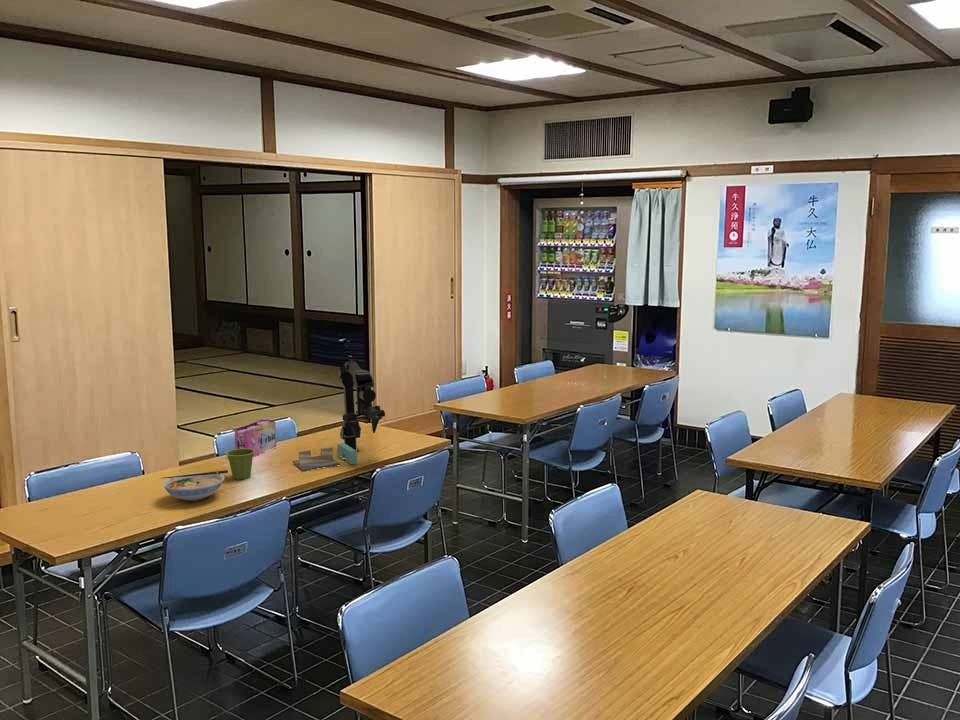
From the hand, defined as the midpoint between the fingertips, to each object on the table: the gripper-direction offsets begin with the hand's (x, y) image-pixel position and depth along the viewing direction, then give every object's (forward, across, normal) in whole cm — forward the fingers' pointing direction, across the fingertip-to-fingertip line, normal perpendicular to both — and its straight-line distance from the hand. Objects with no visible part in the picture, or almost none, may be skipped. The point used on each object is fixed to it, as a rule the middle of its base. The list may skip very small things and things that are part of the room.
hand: (365, 434), depth 358 cm
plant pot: (+13, -51, +16) cm, 55 cm away
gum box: (+12, -30, +53) cm, 61 cm away
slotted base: (+13, -18, +14) cm, 26 cm away
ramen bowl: (+14, -76, 0) cm, 78 cm away
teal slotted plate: (+13, -3, +11) cm, 17 cm away
